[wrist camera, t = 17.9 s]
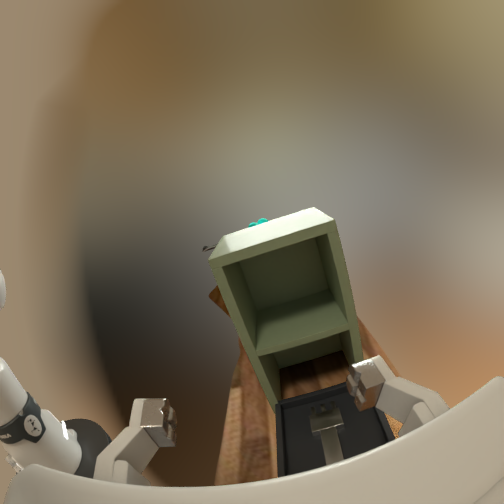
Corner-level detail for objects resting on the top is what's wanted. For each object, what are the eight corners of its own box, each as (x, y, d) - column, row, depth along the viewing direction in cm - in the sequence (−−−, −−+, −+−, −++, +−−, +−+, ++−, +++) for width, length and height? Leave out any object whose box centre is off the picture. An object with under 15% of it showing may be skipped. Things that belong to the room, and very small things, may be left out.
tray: (284, 538, 15) (278, 534, 15) (279, 410, 36) (274, 401, 35) (415, 503, 14) (418, 497, 13) (367, 384, 34) (366, 374, 34)
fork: (365, 512, 15) (365, 509, 15) (326, 522, 16) (325, 520, 15) (336, 402, 32) (335, 397, 32) (309, 410, 33) (307, 405, 33)
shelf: (274, 414, 35) (207, 260, 29) (272, 366, 47) (222, 236, 41) (367, 387, 34) (334, 219, 28) (347, 344, 45) (313, 206, 39)
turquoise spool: (250, 241, 154) (244, 224, 152) (263, 234, 160) (257, 218, 157) (262, 240, 146) (256, 222, 144) (274, 233, 152) (269, 216, 150)
